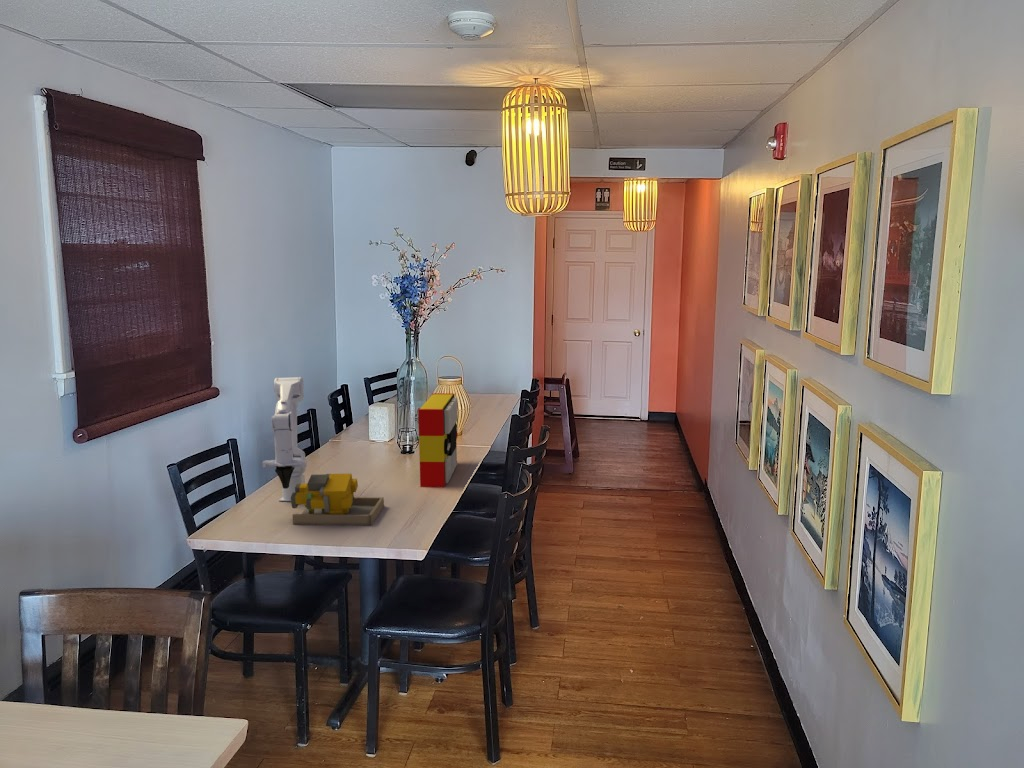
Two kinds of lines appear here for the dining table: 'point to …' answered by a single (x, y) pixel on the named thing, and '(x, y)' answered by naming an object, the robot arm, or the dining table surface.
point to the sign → (437, 439)
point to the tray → (360, 514)
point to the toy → (326, 493)
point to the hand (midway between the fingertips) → (286, 487)
